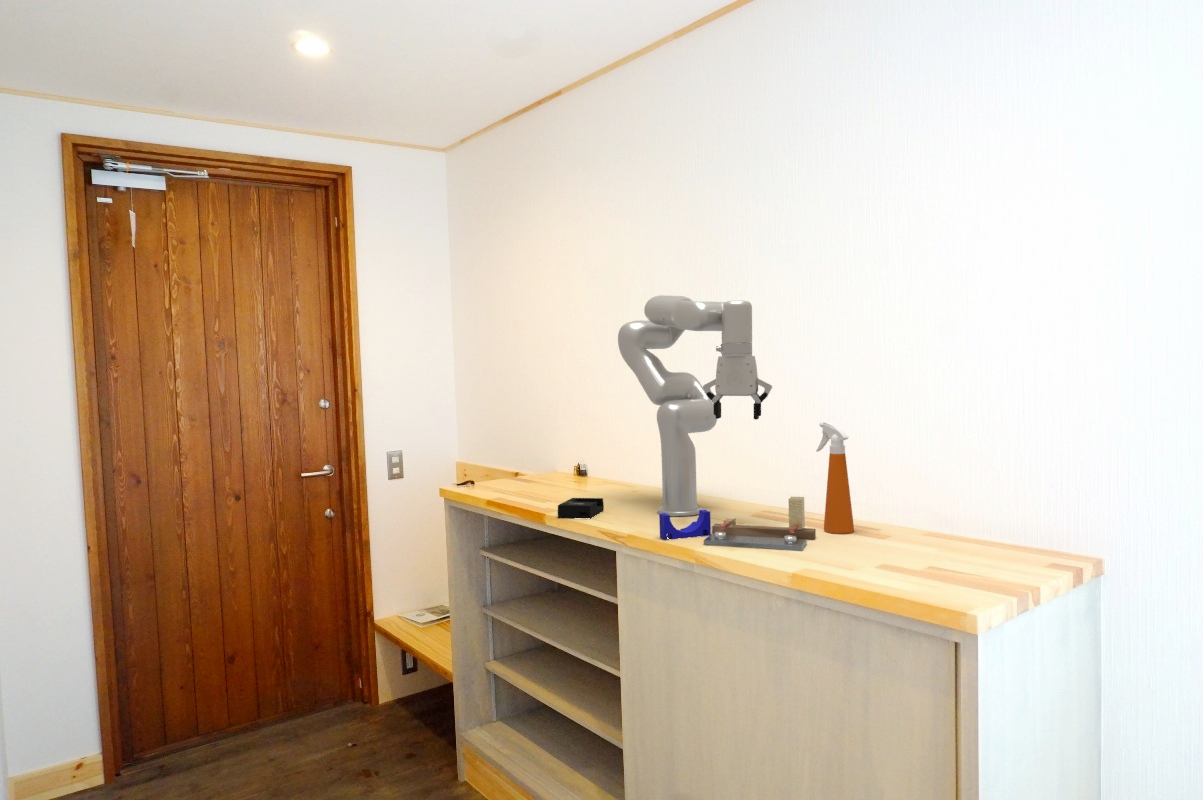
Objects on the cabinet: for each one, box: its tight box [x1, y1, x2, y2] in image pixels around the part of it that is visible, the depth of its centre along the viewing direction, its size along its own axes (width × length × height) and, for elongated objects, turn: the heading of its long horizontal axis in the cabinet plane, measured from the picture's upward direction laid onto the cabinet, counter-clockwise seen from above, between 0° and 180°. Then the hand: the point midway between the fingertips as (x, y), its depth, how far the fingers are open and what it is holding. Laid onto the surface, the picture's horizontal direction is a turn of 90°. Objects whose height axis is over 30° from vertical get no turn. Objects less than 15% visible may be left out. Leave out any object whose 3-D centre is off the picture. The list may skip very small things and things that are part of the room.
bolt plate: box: [703, 532, 808, 552], centre depth 178 cm, size 7×22×2 cm, turn 67°
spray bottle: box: [815, 421, 855, 535], centre depth 190 cm, size 7×11×26 cm, turn 25°
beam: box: [711, 516, 817, 541], centre depth 184 cm, size 10×24×4 cm, turn 67°
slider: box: [787, 496, 806, 533], centre depth 180 cm, size 10×3×7 cm, turn 157°
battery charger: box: [557, 497, 605, 520], centre depth 221 cm, size 13×10×4 cm
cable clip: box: [658, 509, 712, 541], centre depth 189 cm, size 12×4×6 cm, turn 107°
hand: (737, 418), depth 196 cm, fingers open, 9 cm apart
